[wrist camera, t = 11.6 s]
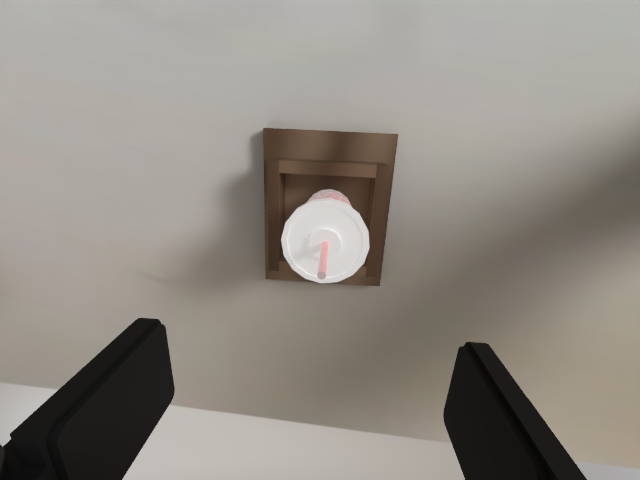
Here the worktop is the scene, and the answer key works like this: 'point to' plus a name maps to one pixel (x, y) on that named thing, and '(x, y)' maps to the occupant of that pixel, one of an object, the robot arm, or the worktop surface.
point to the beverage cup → (325, 238)
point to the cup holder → (327, 173)
